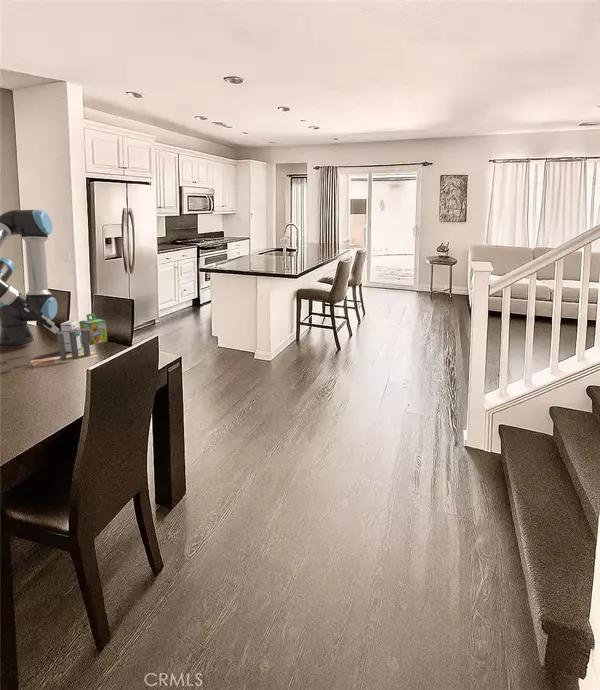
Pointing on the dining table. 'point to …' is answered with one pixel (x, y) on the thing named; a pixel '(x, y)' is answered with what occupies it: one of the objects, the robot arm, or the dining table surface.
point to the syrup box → (65, 330)
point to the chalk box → (94, 329)
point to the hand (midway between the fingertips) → (55, 328)
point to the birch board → (58, 360)
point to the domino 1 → (61, 345)
